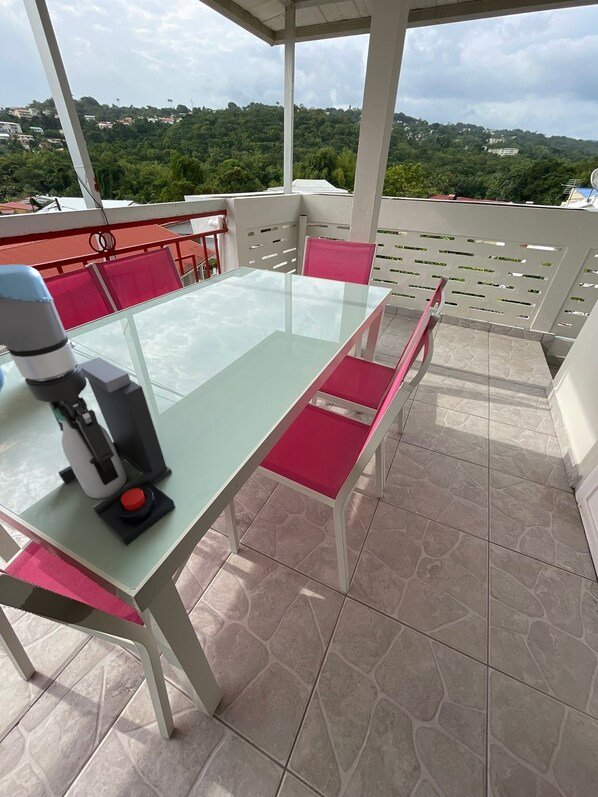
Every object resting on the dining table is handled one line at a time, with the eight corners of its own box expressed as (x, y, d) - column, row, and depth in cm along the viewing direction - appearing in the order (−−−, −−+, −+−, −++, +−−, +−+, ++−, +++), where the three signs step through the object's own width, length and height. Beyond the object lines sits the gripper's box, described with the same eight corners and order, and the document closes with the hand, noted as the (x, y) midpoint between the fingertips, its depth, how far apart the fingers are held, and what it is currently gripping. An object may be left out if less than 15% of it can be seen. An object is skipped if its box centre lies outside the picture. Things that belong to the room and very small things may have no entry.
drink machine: (102, 522, 60) (47, 419, 47) (62, 481, 68) (5, 382, 54) (172, 473, 70) (143, 376, 57) (130, 442, 78) (96, 350, 64)
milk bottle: (135, 480, 69) (103, 401, 57) (99, 506, 63) (57, 425, 52) (112, 465, 72) (79, 388, 61) (77, 488, 67) (33, 409, 55)
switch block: (126, 546, 56) (119, 533, 54) (102, 522, 60) (95, 508, 58) (175, 507, 63) (171, 493, 61) (151, 487, 67) (146, 474, 65)
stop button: (130, 514, 58) (128, 508, 57) (119, 504, 59) (116, 497, 58) (149, 500, 60) (146, 494, 59) (138, 491, 62) (135, 485, 61)
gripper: (109, 381, 50) (147, 483, 63) (49, 344, 60) (93, 439, 73) (55, 403, 45) (108, 509, 58) (0, 360, 55) (56, 458, 68)
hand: (99, 470), depth 65 cm, fingers closed on milk bottle, 8 cm apart
